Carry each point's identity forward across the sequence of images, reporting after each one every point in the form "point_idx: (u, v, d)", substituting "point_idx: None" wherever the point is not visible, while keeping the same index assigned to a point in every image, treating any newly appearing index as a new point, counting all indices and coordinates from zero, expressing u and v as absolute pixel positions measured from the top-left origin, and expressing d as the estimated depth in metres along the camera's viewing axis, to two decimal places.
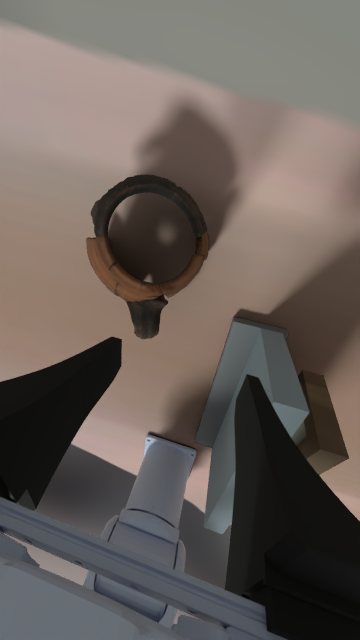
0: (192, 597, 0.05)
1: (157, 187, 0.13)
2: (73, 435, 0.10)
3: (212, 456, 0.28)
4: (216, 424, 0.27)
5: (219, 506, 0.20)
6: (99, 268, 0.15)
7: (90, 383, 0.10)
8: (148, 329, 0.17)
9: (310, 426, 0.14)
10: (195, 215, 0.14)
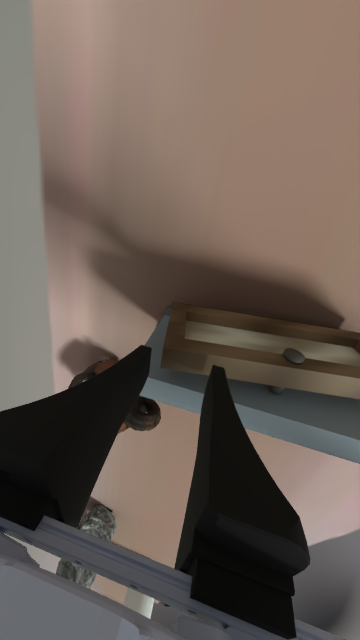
0: (192, 598, 0.05)
1: None
2: (109, 448, 0.10)
3: None
4: None
5: (341, 454, 0.13)
6: None
7: (126, 394, 0.10)
8: (140, 423, 0.23)
9: None
10: (79, 378, 0.25)
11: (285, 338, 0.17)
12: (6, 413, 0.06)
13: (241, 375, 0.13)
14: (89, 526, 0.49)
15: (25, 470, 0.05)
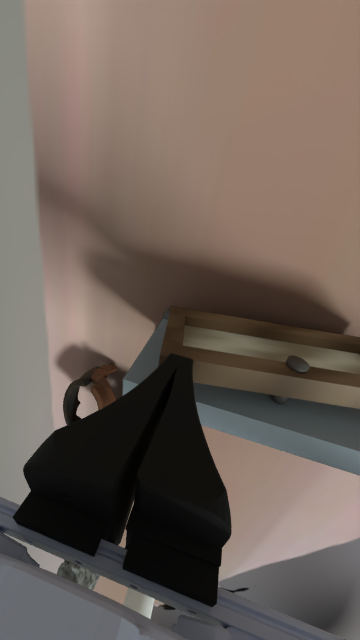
0: (192, 598, 0.05)
1: (66, 400, 0.26)
2: None
3: None
4: None
5: (347, 467, 0.13)
6: None
7: (161, 405, 0.10)
8: None
9: None
10: (76, 385, 0.25)
11: (288, 344, 0.16)
12: (62, 433, 0.06)
13: (242, 385, 0.12)
14: None
15: (89, 495, 0.05)
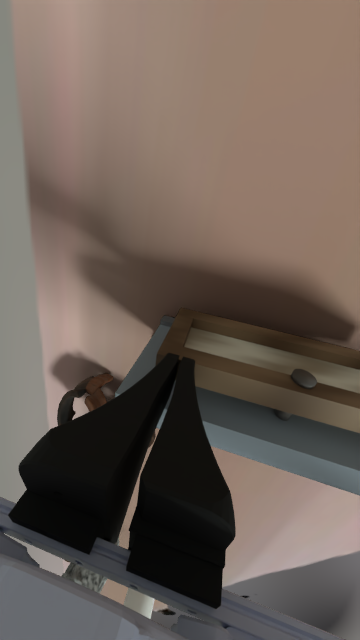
0: (192, 598, 0.05)
1: (60, 411, 0.25)
2: (143, 460, 0.09)
3: None
4: None
5: (357, 490, 0.12)
6: None
7: (159, 404, 0.10)
8: None
9: None
10: (69, 396, 0.24)
11: (301, 357, 0.15)
12: (57, 431, 0.06)
13: (240, 393, 0.12)
14: None
15: (84, 493, 0.05)
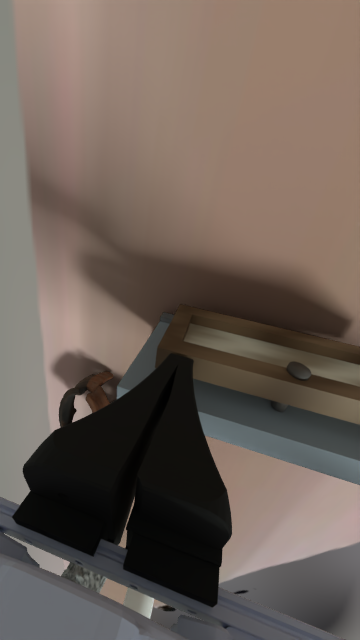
0: (192, 598, 0.05)
1: (62, 408, 0.25)
2: None
3: None
4: None
5: (350, 478, 0.12)
6: None
7: (161, 405, 0.10)
8: None
9: None
10: (71, 393, 0.24)
11: (297, 352, 0.15)
12: (61, 433, 0.06)
13: (238, 385, 0.12)
14: None
15: (89, 495, 0.05)
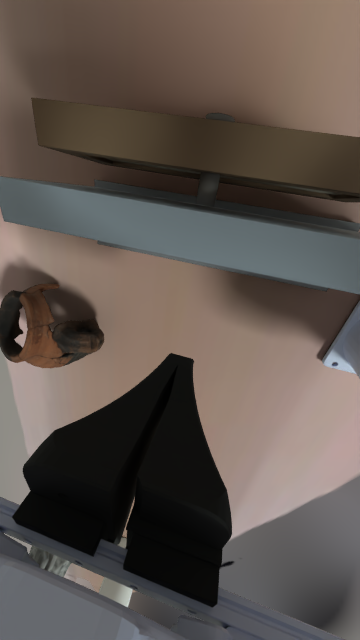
0: (192, 598, 0.05)
1: None
2: None
3: None
4: None
5: (292, 272, 0.09)
6: (39, 364, 0.22)
7: (161, 405, 0.10)
8: (72, 342, 0.20)
9: (71, 153, 0.11)
10: (6, 298, 0.21)
11: None
12: (61, 433, 0.06)
13: (140, 149, 0.09)
14: None
15: (89, 495, 0.05)
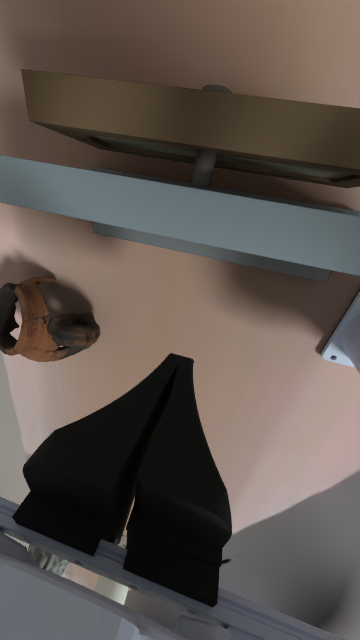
0: (192, 597, 0.05)
1: None
2: None
3: None
4: None
5: (290, 252, 0.09)
6: (34, 357, 0.22)
7: (161, 405, 0.10)
8: (67, 334, 0.20)
9: (64, 132, 0.11)
10: (1, 290, 0.21)
11: None
12: (61, 433, 0.06)
13: (133, 124, 0.09)
14: None
15: (89, 495, 0.05)
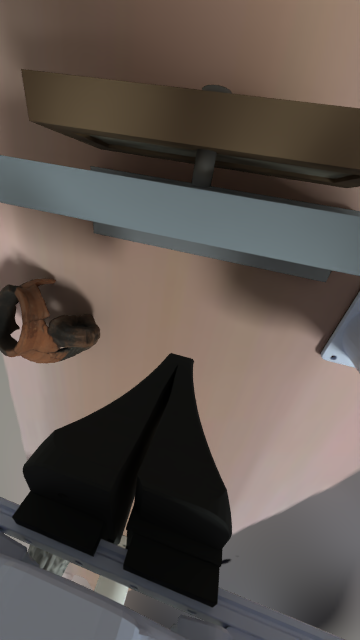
0: (192, 597, 0.05)
1: None
2: None
3: None
4: None
5: (290, 252, 0.09)
6: (35, 359, 0.22)
7: (161, 405, 0.10)
8: (68, 336, 0.20)
9: (64, 132, 0.11)
10: (2, 292, 0.21)
11: None
12: (61, 433, 0.06)
13: (133, 124, 0.09)
14: None
15: (89, 495, 0.05)
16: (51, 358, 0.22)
